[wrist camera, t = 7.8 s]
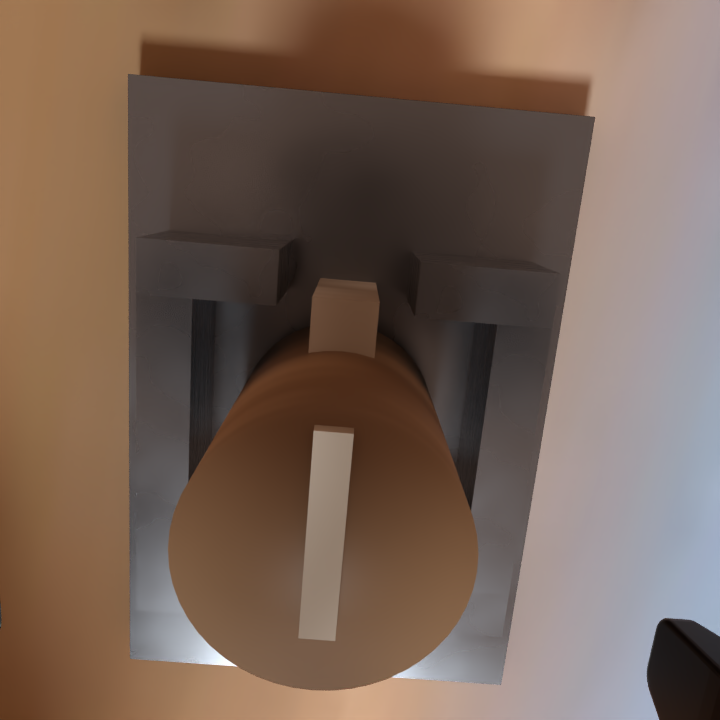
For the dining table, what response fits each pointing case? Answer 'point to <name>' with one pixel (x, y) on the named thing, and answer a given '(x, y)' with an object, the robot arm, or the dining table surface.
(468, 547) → the knob
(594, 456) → the dining table surface
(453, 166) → the base plate
